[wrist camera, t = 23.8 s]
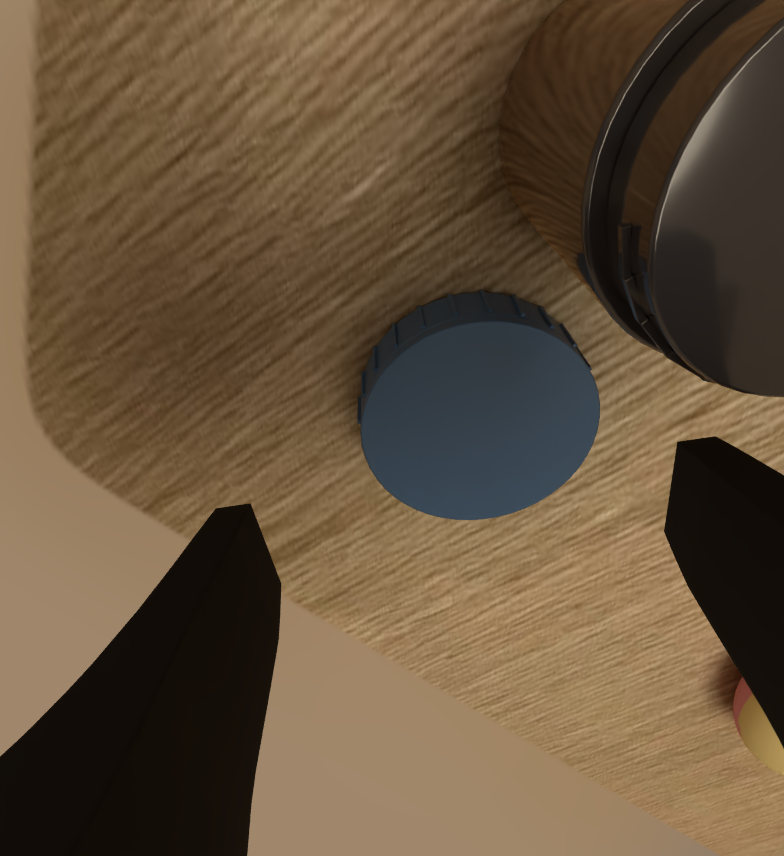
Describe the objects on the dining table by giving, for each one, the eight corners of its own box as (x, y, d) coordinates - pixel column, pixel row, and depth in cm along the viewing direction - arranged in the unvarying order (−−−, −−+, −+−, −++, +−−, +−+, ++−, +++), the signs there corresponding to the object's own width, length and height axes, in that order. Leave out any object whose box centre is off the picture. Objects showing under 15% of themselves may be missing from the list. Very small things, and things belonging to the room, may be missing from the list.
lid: (589, 274, 15) (614, 302, 13) (574, 469, 18) (593, 509, 17) (342, 305, 15) (339, 335, 13) (374, 492, 18) (375, 533, 17)
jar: (486, 248, 14) (581, 421, 8) (514, -39, 11) (705, -125, 5) (707, 248, 14) (969, 415, 8) (794, -35, 11) (1319, -111, 5)
